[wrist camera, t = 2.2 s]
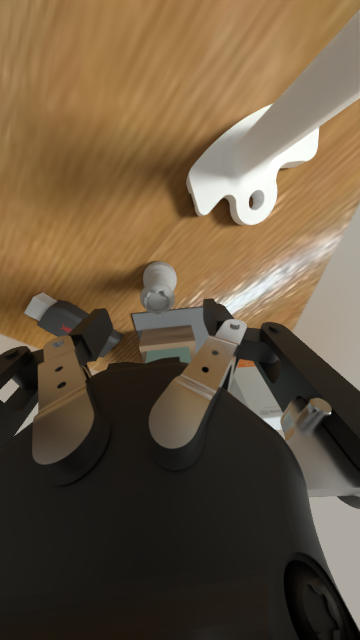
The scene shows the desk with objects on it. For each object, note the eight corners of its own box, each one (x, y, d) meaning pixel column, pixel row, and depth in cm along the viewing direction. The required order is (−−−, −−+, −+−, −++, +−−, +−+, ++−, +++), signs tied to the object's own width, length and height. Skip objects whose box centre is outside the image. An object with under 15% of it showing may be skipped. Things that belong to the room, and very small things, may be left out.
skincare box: (251, 350, 29) (298, 415, 19) (247, 364, 31) (285, 430, 21) (222, 352, 28) (253, 420, 18) (219, 366, 31) (245, 434, 21)
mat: (132, 313, 22) (132, 314, 22) (209, 305, 22) (210, 306, 22) (149, 371, 30) (148, 373, 29) (206, 365, 30) (206, 367, 30)
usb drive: (107, 350, 26) (101, 362, 24) (32, 310, 21) (16, 321, 19) (123, 333, 25) (119, 344, 22) (47, 286, 19) (31, 294, 17)
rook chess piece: (158, 299, 21) (154, 331, 15) (136, 274, 19) (120, 299, 12) (182, 281, 20) (191, 307, 13) (162, 252, 18) (160, 267, 11)
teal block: (147, 351, 21) (143, 374, 17) (188, 346, 21) (192, 369, 17) (154, 377, 24) (152, 401, 20) (189, 373, 24) (193, 396, 21)
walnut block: (142, 329, 23) (138, 346, 20) (191, 324, 24) (195, 340, 20) (151, 363, 28) (149, 381, 24) (192, 358, 28) (195, 376, 25)
